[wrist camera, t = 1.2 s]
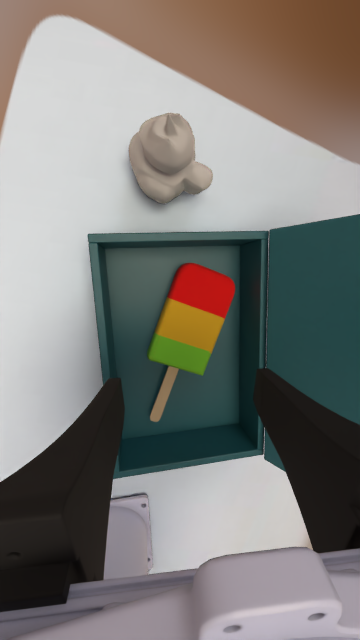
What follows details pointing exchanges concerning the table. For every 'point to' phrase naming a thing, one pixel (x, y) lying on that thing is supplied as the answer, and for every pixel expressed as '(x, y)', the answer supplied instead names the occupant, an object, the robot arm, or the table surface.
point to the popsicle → (189, 325)
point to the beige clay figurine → (167, 159)
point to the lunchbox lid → (316, 314)
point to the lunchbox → (188, 388)
